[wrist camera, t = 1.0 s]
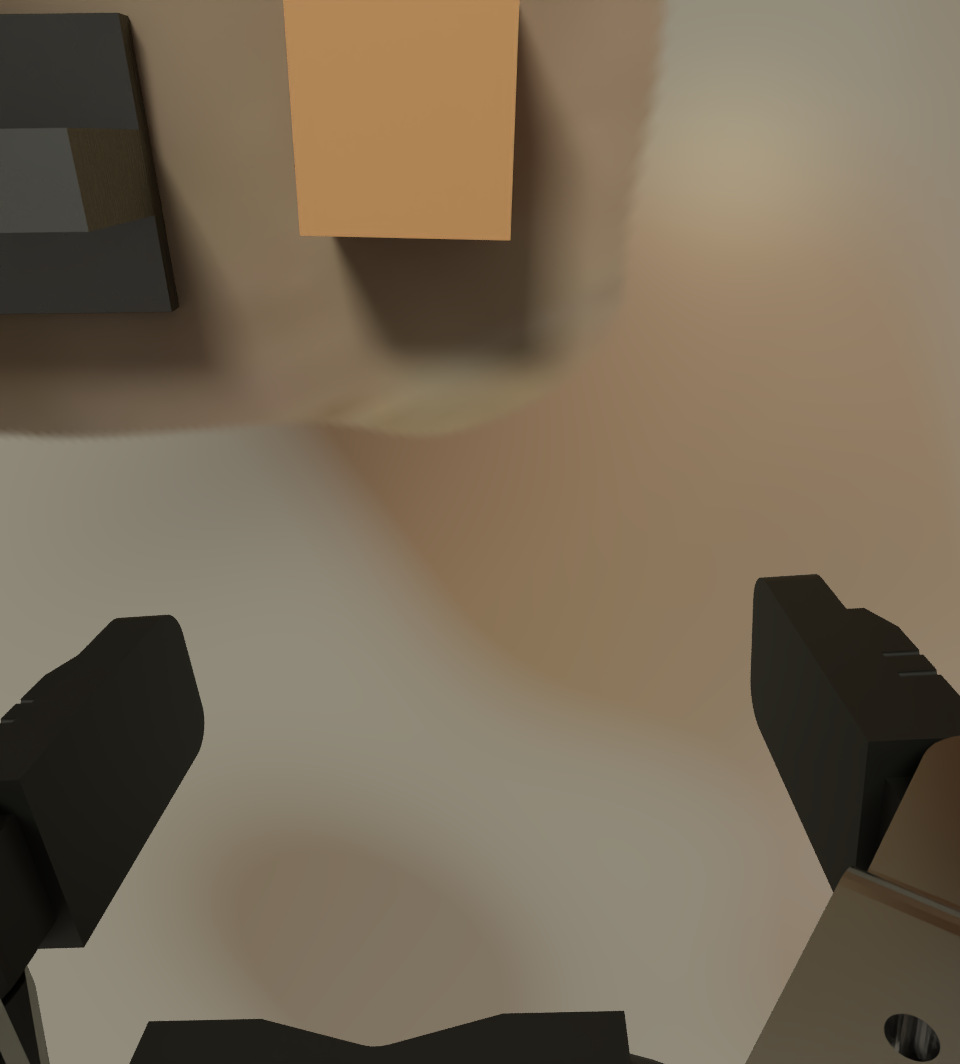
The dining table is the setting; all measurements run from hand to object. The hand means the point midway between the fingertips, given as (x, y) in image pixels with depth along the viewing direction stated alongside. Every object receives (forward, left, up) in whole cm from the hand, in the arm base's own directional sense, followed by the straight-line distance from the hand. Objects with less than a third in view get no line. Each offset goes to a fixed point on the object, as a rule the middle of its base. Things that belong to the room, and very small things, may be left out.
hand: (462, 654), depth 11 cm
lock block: (-4, +6, -21) cm, 22 cm away
